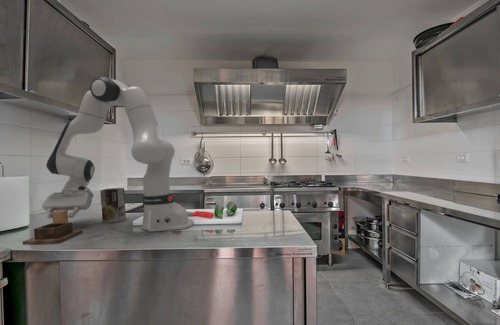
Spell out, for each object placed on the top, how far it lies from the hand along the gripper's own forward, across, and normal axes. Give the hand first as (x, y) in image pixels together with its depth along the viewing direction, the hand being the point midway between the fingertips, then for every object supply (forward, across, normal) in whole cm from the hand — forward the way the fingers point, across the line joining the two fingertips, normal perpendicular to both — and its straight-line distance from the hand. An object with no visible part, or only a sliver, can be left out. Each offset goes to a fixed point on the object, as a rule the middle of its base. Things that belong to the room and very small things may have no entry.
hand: (59, 217), depth 122 cm
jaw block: (+4, 0, +5) cm, 6 cm away
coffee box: (-8, +15, +17) cm, 24 cm away
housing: (+12, +5, -3) cm, 13 cm away
